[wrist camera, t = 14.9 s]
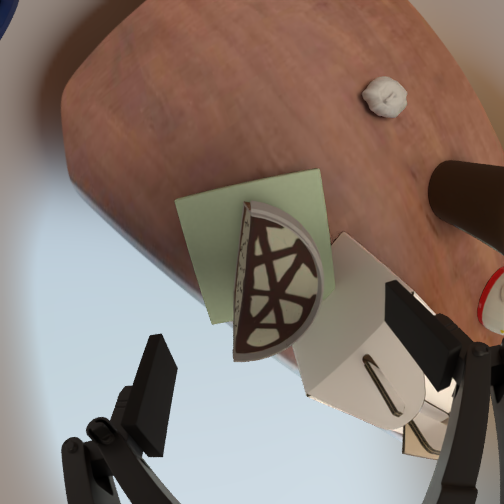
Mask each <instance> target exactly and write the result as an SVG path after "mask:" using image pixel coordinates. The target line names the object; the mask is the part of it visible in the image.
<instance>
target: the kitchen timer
mask: <svg viewBox="0 0 504 504" xmlns="http://www.w3.org/2000/svg"><path fill="white" fill-rule="evenodd" d="M477 316H478V319H479V322H480V323H481V324H482V325H484V326H485V327H486V328H487V329H489V330H490V331H493V332H495V333H498V334H501V335H504V266H503V267H502V268H500V269H499V270H498V271H497V272H495V273H494V274H493V276H492V277H491V279H490V280H489V281H488V283H487V285H486V287H485V288H484V290H483V293H482V295H481V298H480V301H479V305H478V315H477Z"/></svg>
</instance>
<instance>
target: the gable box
mask: <svg viewBox="0 0 504 504" xmlns="http://www.w3.org/2000/svg"><path fill="white" fill-rule="evenodd" d="M331 251H332V260H333V269H334V279H335V289H334V290H333V291H332V293H331V294H330V295H329V296H328V297H327V298H326V299H325V300H322V302H321V305H320V308H319V311H318V314H317V316H316V318H315V320H314V321H313V323H312V325H311V326H310V328H309V329H308V330H307V331H306V333H305V334H304V335H303V336H302V337H301V338H300V339H299V340H298V341H297V342H295V343H294V344H293V345H292V347H293V351H294V354H295V357H296V361H297V364H298V368H299V371H300V375H301V378H302V382H303V385H304V389H305V392H306V396H307V397H309V398H312V399H314V400H316V401H318V402H321V403H323V404H326V405H328V406H330V407H332V408H335V409H337V410H340V411H342V412H345V413H347V414H349V415H352V416H354V417H356V418H359V419H361V420H363V421H365V422H368V423H370V424H372V425H374V426H377V427H379V428H382V429H387V430H393V431H396V432H399V433H402V434H403V447H402V454H406V455H411V456H416V457H422V458H427V459H433V460H438V458H439V455H440V451H441V448H442V444H443V441H444V437H445V433H446V429H447V425H448V420H449V416H450V411H451V406H452V401H453V397H451V396H452V394H453V391H454V388H455V386H456V382H455V380H454V379H453V378H452V381H451V384H450V386H449V387H447V388H446V389H444V390H442V391H440V392H437V391H436V389H435V388H434V387H433V385H432V384H431V382H430V381H429V380H428V378H427V377H426V375H425V374H424V373H423V371H422V370H421V369H420V367H419V366H418V364H417V363H416V362H415V360H414V359H413V358H412V356H411V355H410V354H409V352H408V351H407V350H406V348H405V347H404V346H403V344H402V343H401V342H400V340H399V339H398V338H397V337H396V335H395V334H394V333H393V331H392V330H391V329H390V328H389V326H388V325H387V324H386V322H385V321H384V317H385V283H386V282H389V281H393V280H397V281H398V282H399V283H400V284H402V285H403V286H404V287H405V288H406V289H407V290H408V291H409V292H410V293H411V294H412V295H413V296H414V297H415V298H416V299H417V300H419V301H420V302H421V303H422V304H423V305H424V306H425V307H426V308H427V309H428V310H429V311H430V312H431V313H432V314H433V315H436V314H435V313H434V312H433V311H432V310H431V309H430V308H429V307H428V305H427V304H426V303H425V302H424V301H423V300H422V299H421V298H420V297H419V296H418V295H417V294H416V293H415V292H414V291H413V290H412V289H411V288H410V287H409V286H408V285H407V284H406V283H405V282H403V281H402V280H401V279H400V278H399V277H398V276H397V275H395V274H394V273H393V272H392V271H391V270H390V269H389V268H387V267H386V266H385V265H384V264H383V263H382V262H381V261H379V260H378V259H377V258H376V257H375V256H374V255H372V254H371V253H370V252H369V251H368V250H366V249H365V248H364V247H363V246H362V245H360V244H359V243H358V242H357V241H356V240H354V239H353V238H352V237H351V236H349V235H348V234H347V233H346V232H342V233H341V235H340V236H339V237H338V238H337V239H336V240H335V242H334V243H333V244H332V245H331Z"/></svg>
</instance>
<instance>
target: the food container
mask: <svg viewBox="0 0 504 504" xmlns="http://www.w3.org/2000/svg"><path fill="white" fill-rule="evenodd" d="M323 293H324V272H323V267H322V262H321V257H320V253H319V251H318V248H317V246H316V244H315V242H314V240H313V239H312V237H311V235H310V234H309V232H308V231H307V230H306V229H305V228H304V227H303V226H302V224H301V223H300V222H298V221H297V220H296V219H295V218H293V217H292V216H291V215H290V214H288V213H286V212H284V211H282V210H281V209H279V208H277V207H274V206H271V205H268V204H266V203H262V202H257V201H252V200H251V202H245V201H243V210H242V218H241V227H240V236H239V244H238V253H237V262H236V271H235V280H234V289H233V359H234V362H249V361H256V360H260V359H264V358H267V357H270V356H273V355H275V354H278V353H280V352H282V351H283V350H285V349H287V348H289V347H290V346H291V345H293V344H294V343H295V342H297V341H298V340H299V339H300V338H301V337H302V336H303V335H304V334H305V333H306V331H307V330H308V329H309V328H310V326H311V325H312V323H313V321H314V320H315V318H316V316H317V314H318V311H319V308H320V305H321V302H322V299H323Z"/></svg>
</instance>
